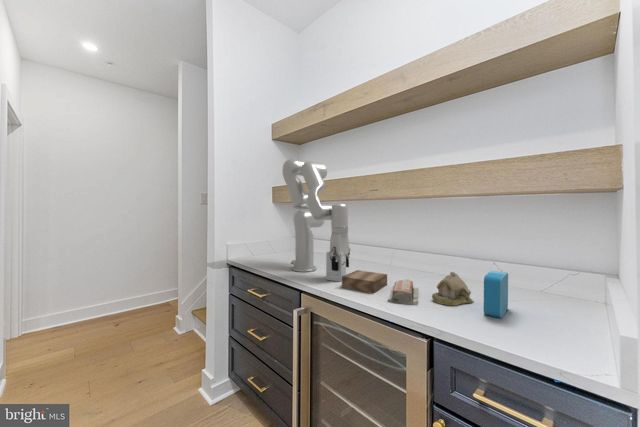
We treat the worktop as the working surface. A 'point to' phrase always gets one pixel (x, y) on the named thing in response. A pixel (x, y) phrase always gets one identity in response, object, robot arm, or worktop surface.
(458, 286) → the ceramic model
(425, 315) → the worktop surface
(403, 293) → the packaged product
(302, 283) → the worktop surface
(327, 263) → the supplement box
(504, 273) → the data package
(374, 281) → the walnut block
